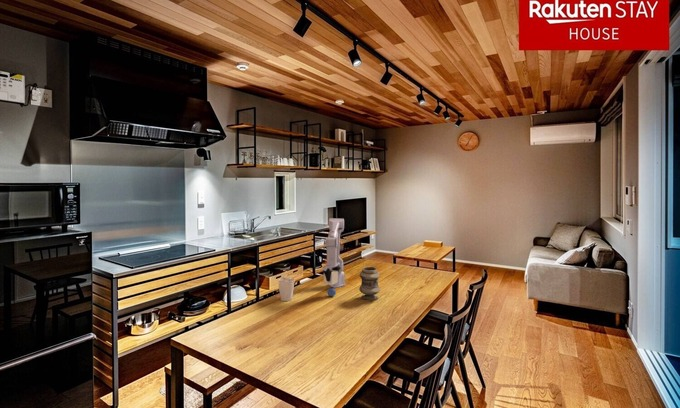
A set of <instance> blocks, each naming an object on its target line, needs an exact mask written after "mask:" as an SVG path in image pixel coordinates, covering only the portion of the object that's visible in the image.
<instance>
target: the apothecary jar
mask: <svg viewBox="0 0 680 408" xmlns="http://www.w3.org/2000/svg"><path fill="white" fill-rule="evenodd" d="M380 275H381V274H380V273H379V271H378V268H377V267H376V266H364V267H362V269H361V271H360V273H359V277H360V279H361V283H360V284H361V285H360V286H359V287H358V288H359V289H358V290H359V292H360V293H361V294H363V295H362V296H361V297H360V299H361V300H362V301H366V302H375V301H377V300H378V299H379V298H378V296H377V295H378V293H380V291H381V287H380V286H379V283H378V281H379V278H380Z"/></svg>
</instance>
